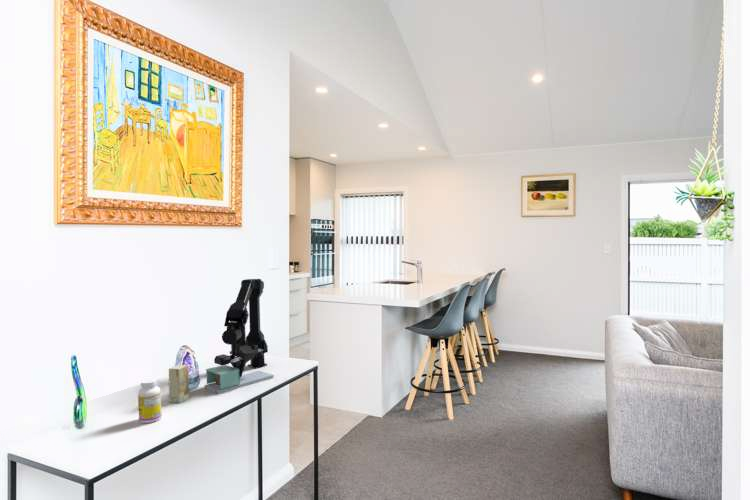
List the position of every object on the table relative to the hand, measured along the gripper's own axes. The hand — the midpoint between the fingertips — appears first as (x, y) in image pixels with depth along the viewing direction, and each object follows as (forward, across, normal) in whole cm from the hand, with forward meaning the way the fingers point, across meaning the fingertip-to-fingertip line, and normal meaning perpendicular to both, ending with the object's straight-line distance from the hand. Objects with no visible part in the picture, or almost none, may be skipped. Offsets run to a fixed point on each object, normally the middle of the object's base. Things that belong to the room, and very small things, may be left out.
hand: (239, 376), depth 190 cm
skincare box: (+2, -25, 0) cm, 25 cm away
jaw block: (+1, -8, 0) cm, 8 cm away
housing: (+1, -7, 0) cm, 8 cm away
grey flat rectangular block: (+2, 0, 0) cm, 2 cm away
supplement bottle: (+2, -40, -11) cm, 42 cm away
